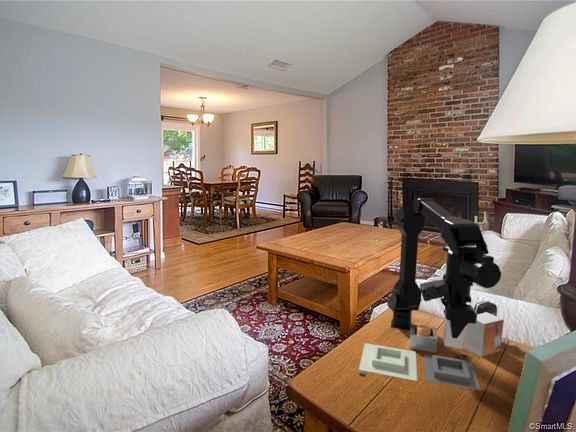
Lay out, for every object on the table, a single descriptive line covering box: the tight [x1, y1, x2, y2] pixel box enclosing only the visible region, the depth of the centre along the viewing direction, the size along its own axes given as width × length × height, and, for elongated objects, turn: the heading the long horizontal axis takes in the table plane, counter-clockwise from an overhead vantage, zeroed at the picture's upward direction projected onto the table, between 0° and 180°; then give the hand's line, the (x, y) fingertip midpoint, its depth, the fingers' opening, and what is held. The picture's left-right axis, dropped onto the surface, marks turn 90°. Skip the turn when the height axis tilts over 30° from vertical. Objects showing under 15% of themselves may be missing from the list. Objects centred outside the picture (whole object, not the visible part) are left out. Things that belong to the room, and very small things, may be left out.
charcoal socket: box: [423, 354, 482, 392], centre depth 89 cm, size 12×12×2 cm
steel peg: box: [442, 316, 465, 350], centre depth 87 cm, size 4×4×8 cm
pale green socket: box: [358, 342, 418, 382], centre depth 94 cm, size 14×14×2 cm
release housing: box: [409, 323, 439, 354], centre depth 102 cm, size 7×7×5 cm
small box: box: [464, 312, 505, 358], centre depth 99 cm, size 8×6×10 cm
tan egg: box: [417, 324, 431, 336], centre depth 102 cm, size 4×4×5 cm
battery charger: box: [473, 300, 498, 317], centre depth 107 cm, size 7×4×11 cm, turn 119°
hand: (453, 333), depth 87 cm, fingers closed on steel peg, 4 cm apart
